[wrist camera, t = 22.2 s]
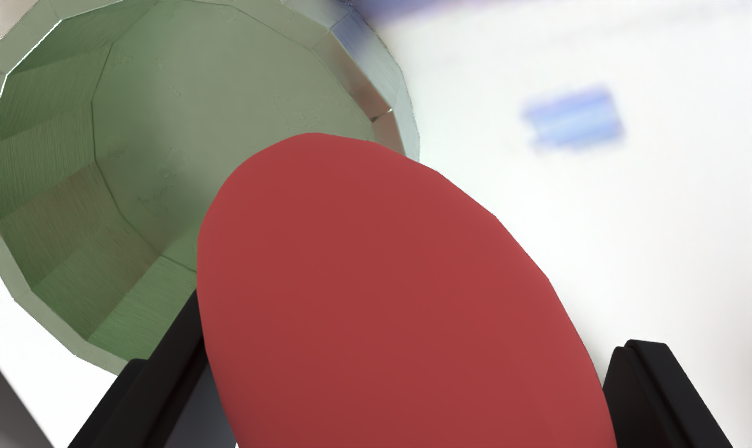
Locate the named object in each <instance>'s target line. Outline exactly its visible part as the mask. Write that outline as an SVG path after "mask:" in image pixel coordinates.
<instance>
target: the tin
mask: <svg viewBox="0 0 752 448" xmlns="http://www.w3.org/2000/svg"><path fill="white" fill-rule="evenodd" d="M316 132H319V133H324V134H330V135H336V136H342V137H348V138H354V139H360V140H366V141H372V142H376V143H378V144H380V145H382V146H385V147H387V148H389V149H391V150H393V151H395V152H397V153H399V154H401V155H404V156H406V157H408V158H410V159H412V160H414V161H416V162H418V163H419V153H420V136H419V133H418V129H417V125H416V122H415V118H414V114H413V109H412V104H411V100H410V97H409V94H408V91H407V88H406V85H405V81H404V77H403V74H402V71H401V69H400V67H399V66H398V64H397V63H396V62H395V60H394V59H393V58H392V56H391V55H390V53H389V52H388V50H387V49H386V47H385V46H384V44H383V43H382V41H381V40H380V38H379V37H378V36H377V35H376V34H375V33H374V31H373V30H372V29H371V28H370V27H369V26H368V25H367V23H366V22H365V21H364V20H363V19H362V18H361V16H360V15H359V14H358V12H357V11H356V10H354V8H352V7H351V6H349V5H347V4H346V3H344V2H342V1H341V0H38V1H37V2H36V4H35V5H34V6H33V7H32V8H31V9H30V10H29V11H28V12H27V13H26V14H25V15H24V16H23V17H22V18H21V19H20V20H19V21H18V22H17V23H16V24H15V26H14V27H13V28H12V29H11V30H10V31H9V32H8V33H7V34H6V35H5V36H4V37H3V38H2V39H1V40H0V276H1V278H2V280H3V282H4V284H5V285H6V287H7V289H8V291H9V293H10V294H11V296H12V298H14V300H15V301H16V302H17V303H18V304H19V305H20V306H21V307H22V308H23V309H24V310H25V311H27V312H28V313H29V314H30V315H31V316H32V317H33V318H34V319H35V320H36V321H37V322H39V323H40V324H41V325H42V326H43V327H44V328H45V329H46V330H47V331H48V332H50V333H51V334H52V335H53V336H54V337H55V338H56V339H57V340H58V341H59V342H60V343H62V344H63V345H64V346H65V347H66V348H67V349H68V350H69V351H70V352H71V353H72V354H74V355H76V356H77V357H79V358H81V359H83V360H85V361H87V362H89V363H92V364H94V365H96V366H98V367H100V368H102V369H104V370H106V371H109V372H111V373H113V374H115V375H117V376H119V374H120V373H121V371H122V370H123V368H124V367H125V366H126V364H127V363H128V362H129V361H130V360H132V359H135V358H139V359H147V360H148V359H149V357H150V356H151V354H152V353H153V351H154V350H155V348H156V347H157V345H158V344H159V342H160V341H161V339H162V338H163V336H164V335H165V333H166V332H167V330H168V329H169V327H170V326H171V324H172V323H173V321H174V320H175V318H176V317H177V315H178V314H179V312H180V311H181V309H182V308H183V306H184V305H185V303H186V302H187V300H188V299H189V297H190V296H191V294H192V293H193V291H194V290H195V289H196V288H197V239H198V235H199V231H200V227H201V224H202V222H203V219H204V217H205V215H206V212H207V211H208V209H209V207H210V205H211V204H212V202H213V200H214V198H215V197H216V195H217V193H218V191H219V189H220V188H221V186H222V185H223V183H224V182H225V181H226V179H227V178H228V177H229V176H230V175H231V173H232V172H233V171H234V170H235V169H236V168H237V167H238V166H239V165H241V164H242V163H243V162H244V161H245V160H247V159H248V158H250V157H251V156H252V155H254V154H256V153H258V152H259V151H261V150H263V149H265V148H267V147H269V146H271V145H273V144H275V143H277V142H280V141H282V140H284V139H287V138H290V137H292V136H295V135H299V134H304V133H316Z"/></svg>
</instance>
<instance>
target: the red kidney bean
mask: <svg viewBox="0 0 752 448" xmlns="http://www.w3.org/2000/svg"><path fill="white" fill-rule="evenodd" d="M197 297H198V304H199V310H200V317H201V323H202V330H203V336H204V342H205V349H206V353H207V356H208V360H209V363H210V366H211V370H212V373H213V377H214V380H215V383H216V387H217V390H218V394H219V397H220V401H221V404H222V407H223V409H224V412H225V414H226V417H227V419H228V422H229V424H230V427H231V429H232V432H233V434H234V437H235V439H236V442H237V444H238V446H239V448H617V443H616V438H615V433H614V428H613V424H612V420H611V416H610V413H609V409H608V406H607V402H606V399H605V396H604V393H603V390H602V387H601V384H600V381H599V378H598V376H597V373H596V370H595V368H594V365H593V363H592V360H591V358H590V356H589V354H588V352H587V350H586V348H585V346H584V344H583V342H582V340H581V338H580V336H579V335H578V333H577V331H576V329H575V327H574V325H573V324H572V322H571V320H570V318H569V316H568V314H567V312H566V311H565V309H564V307H563V305H562V303H561V301H560V299H559V298H558V296H557V294H556V292H555V290H554V288H553V287H552V285H551V283H550V281H549V279H548V278H547V276H546V275H545V274H544V273H543V272H542V270H541V269H540V268H539V267H538V266H537V265H536V263H535V262H534V261H533V260H532V259H531V258H530V256H529V255H528V254H527V253H526V252H525V251H524V249H523V248H522V247H521V246H520V245H519V243H518V242H517V241H516V240H515V239H514V238H513V236H512V235H511V234H510V233H509V232H508V231H507V229H506V228H505V227H504V226H503V225H502V223H501V222H500V221H499V220H498V219H497V218H496V216H494V215H493V214H492V213H490V212H489V211H488V210H486V209H485V208H484V207H483V206H481V205H480V204H479V203H477V202H476V201H475V200H474V199H472V198H471V197H470V196H468V195H467V194H466V193H465V192H463V191H462V190H461V189H459V188H458V187H457V186H455V185H454V184H453V183H452V182H450V181H449V180H448V179H446V178H445V177H444V176H443V175H441V174H440V173H439V172H437V171H435V170H433V169H431V168H429V167H427V166H425V165H422V164H420V163H418V162H416V161H414V160H412V159H410V158H408V157H406V156H404V155H401V154H399V153H397V152H395V151H393V150H391V149H389V148H387V147H385V146H382V145H380V144H378V143H376V142H372V141H366V140H360V139H354V138H348V137H342V136H336V135H330V134H324V133H319V132H316V133H304V134H299V135H295V136H292V137H290V138H287V139H284V140H282V141H280V142H277V143H275V144H273V145H271V146H269V147H267V148H265V149H263V150H261V151H259V152H258V153H256V154H254V155H252V156H251V157H250V158H248V159H247V160H245V161H244V162H243V163H242V164H241V165H239V166H238V167H237V168H236V169H235V170H234V171H233V172H232V173H231V175H230V176H229V177H228V178H227V179H226V181H225V182H224V183H223V185H222V186H221V188H220V189H219V191H218V193H217V195H216V197H215V198H214V200H213V202H212V204H211V205H210V207H209V209H208V211H207V212H206V215H205V217H204V219H203V222H202V224H201V227H200V231H199V235H198V239H197Z"/></svg>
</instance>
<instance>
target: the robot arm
mask: <svg viewBox="0 0 752 448" xmlns="http://www.w3.org/2000/svg"><path fill="white" fill-rule="evenodd" d="M602 390H603V393H604V396H605V399H606V402H607V406H608V409H609V413H610V416H611V420H612V424H613V428H614V433H615V438H616V443H617V448H733V447H732V445H731V443H730V442H729V440H728V439H727V437H726V436H725V434H724V433H723V431H722V429H721V428H720V426H719V425H718V423H717V422H716V420H715V419H714V417H713V415H712V414H711V412H710V411H709V409H708V408H707V406H706V405H705V403H704V401H703V400H702V398H701V397H700V395H699V394H698V392H697V391H696V389H695V387H694V386H693V384H692V383H691V381H690V380H689V378H688V377H687V375H686V373H685V372H684V370H683V369H682V367H681V366H680V364H679V363H678V361H677V360H676V358H675V356H674V355H673V353H672V352H671V350H670V349H669V347H668V346H667V345H666V344H664V343H658V342H650V341H641V340H633V339H630V340H628V341H627V342H626V344H625V346H624V347H620V346H618V347H616V348H615V349H614V351H613V354H612V357H611V360H610V364H609V367H608V371H607V374H606V378H605V381H604V385H603V388H602ZM235 446H236V439H235V437H234V434H233V432H232V429H231V427H230V424H229V422H228V419H227V417H226V414H225V412H224V409H223V407H222V404H221V401H220V397H219V394H218V390H217V387H216V383H215V380H214V377H213V373H212V370H211V366H210V363H209V360H208V356H207V353H206V349H205V342H204V336H203V330H202V323H201V317H200V310H199V304H198V297H197V288H196V289H195V290H194V291H193V293H192V294H191V296H190V297H189V299H188V300H187V302H186V303H185V305H184V306H183V308H182V309H181V311H180V312H179V314H178V315H177V317H176V318H175V320H174V321H173V323H172V324H171V326H170V327H169V329H168V330H167V332H166V333H165V335H164V336H163V338H162V339H161V341H160V342H159V344H158V345H157V347H156V348H155V350H154V351H153V353H152V354H151V356H150V357H149V359H148V360H147V359H139V358H135V359H132V360H130V361H129V362H128V363H127V364H126V366H125V367H124V368H123V370H122V371H121V373H120V374H119V376H118V377H117V378H116V380H115V381H114V383H113V384H112V385H111V387H110V388H109V390H108V391H107V392H106V394H105V395H104V397H103V398H102V399H101V401H100V402H99V404H98V405H97V407H96V408H95V409H94V411H93V412H92V414H91V415H90V416H89V418H88V419H87V421H86V422H85V423H84V425H83V426H82V428H81V429H80V431H79V432H78V433H77V435H76V436H75V438H74V439H73V440H72V442H71V443H70V445H69V446H68V447H67V448H235Z"/></svg>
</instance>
